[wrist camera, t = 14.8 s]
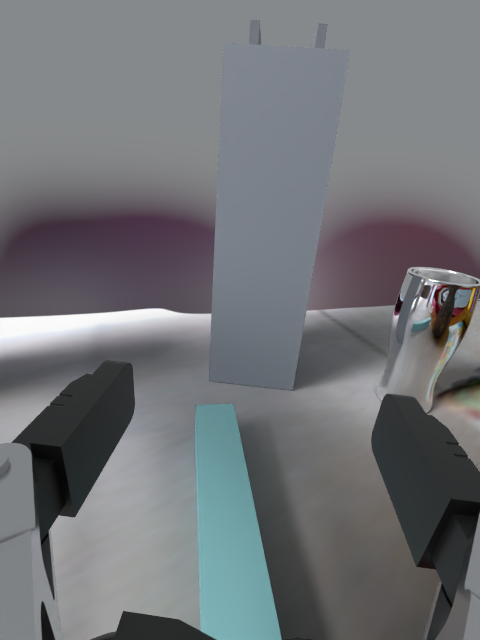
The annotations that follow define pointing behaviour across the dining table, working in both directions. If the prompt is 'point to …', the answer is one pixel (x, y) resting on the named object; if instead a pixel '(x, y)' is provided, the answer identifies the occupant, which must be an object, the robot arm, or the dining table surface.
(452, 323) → the beer glass
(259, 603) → the batten
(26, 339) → the dining table surface
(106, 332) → the dining table surface
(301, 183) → the tower
